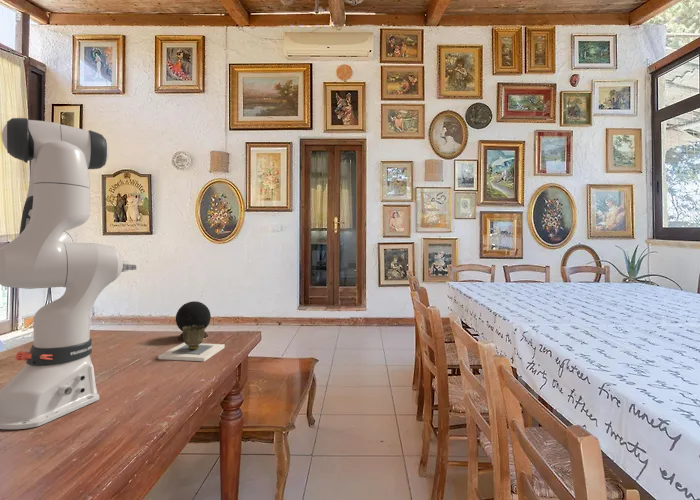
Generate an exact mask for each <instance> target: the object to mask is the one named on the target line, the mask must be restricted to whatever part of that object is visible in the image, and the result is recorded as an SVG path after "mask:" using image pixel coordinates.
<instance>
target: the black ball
mask: <svg viewBox="0 0 700 500" xmlns="http://www.w3.org/2000/svg"><path fill="white" fill-rule="evenodd" d="M211 315H212V314H211V311H210V308H209V307H208V306H207V305H206V304H205V303H203V302H201V301H197V300H196V301H189V302H188V301H187V302H186V303H184V304H182V305H181V306H180V308H179V309H178V310H177V311H176V314H175V323H176V326H177V328H178V329H179V330H180V331H181V332H182V333H180V334H179V336H178V337H177V340H178V341H179V342H182V343H185V342H184V338H183V330H182V329H183V327H185V326H187V327H188V326H189V325H190V327H192V325H194V326H195V325H197V326H199V325H200V326H202V325H204V326H205V330H206V329H207V327H209V325H210V322H211V317H212V316H211ZM206 337H208V338H209V334H208V333H207V332H206V331H205V332H204V338H206Z"/></svg>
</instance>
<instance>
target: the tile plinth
mask: <svg viewBox="0 0 700 500" xmlns="http://www.w3.org/2000/svg"><path fill="white" fill-rule="evenodd" d="M225 345H226V344H221V343H219V344H218V343H203V342H202V343H201V344H199V348H198V349H197V350H189V349H188V345H186V344H185V342H182V343H180V344H178V345H176V346H175V347H172V348H170V349H168V350H166V351H165V352H162V353H161V354H159V355H158V357H157V359H158V360H165V361H166V360H168V361H169V360H171V361H172V360H173V361H187V362H188V361H190V362H205V361H207V360H209V359H210V358H211V357H213V356H214V355H216V354H217V353H219V352H221V351H222V350H223V349H225Z"/></svg>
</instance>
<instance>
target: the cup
mask: <svg viewBox="0 0 700 500" xmlns="http://www.w3.org/2000/svg"><path fill="white" fill-rule="evenodd" d="M182 330H183V331H182V333H183V338H184V342H183V343H185V344H186V345H188V349H189V350H197V349H198V348H199V344H201V343H203V341H204V340H203V338H204V332H206V329H205V326H204V325H202V326H200V325H199V326H197V325H195V326H194V325H192V327H190V325H189V326H188V327H187V326H185V327H183V329H182Z"/></svg>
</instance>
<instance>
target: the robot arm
mask: <svg viewBox="0 0 700 500" xmlns="http://www.w3.org/2000/svg"><path fill="white" fill-rule="evenodd" d="M106 139H107V138H105V137H104V135H103V134H101V133H98V132H96V131H93V130H87V129H83V128H78V127H74V126H70V125H66V124H61V123H60V122H54V121H53V122H52V121H46V120H45V121H44V120H38V119H37V120H35V119H28V118H27V117H15V118H14V117H12V118H10V119H9V120H8V121H7V122H6V124H5V125H4V127H3V129H2V131H1V141H2V144H3V146H4V147H5V150H6V151H7V154H8V155H10V156H11V157H13V158H14V159H17V160H20V161H22V162H24V163H26V164H28V162H29V161H30V174H29V185H28V190H27V195H26V198H25V202H24V206H23V209H22V213H21V221H20V227H19V234H18V235H17V236H16V237H15V238H14V239H13V240H11V241H9V242H8V243H5V244H4V245H2V246H1V247H0V285H1V286H2V287H5V288H13V289H25V290H27V289H28V290H31V289H48V288H65V291H64V292H63V295H61V297H59V298H58V299H54V300H53V301H51V302H49V303H47V304H45V305H43V306H42V307H40V308H39V309H38V310H37V311H36V312H35V315H34V316H33V344H32V345H31V347H30V349H29V351H23V350H22V351H18V352H17V353H16V354H15V356H14V357H15V360H16V361H23V362H25V363H26V364H25V365H24V366H23V367H22V368H21V369H20V370H19V371H18V372H17V373H16V374H15V375H14V376H13V377H12V378H11V379H10V380H9V381H8V382H7V383H5V385H3V387H2V388H1V389H0V430H22V429H24V430H25V429H31V428H36V427H40V426H42V425H45V424H47V423H49V422H52V421H54V420H56V419H58V418H60V417H63V416H65V415H67V414H70V413H72V412H74V411H77V410H79V409H82V408H84V407H86V406H87V405H90V404H92V403H95V402H97V401H100V394H99V393H98V389H97V385H96V378H95V369H94V365H93V362H92V359H91V354H92V352H93V341H92V338H90V337H91V336H90V334H91V319H92V312H93V308H94V307H93V306H94V304H95V302H96V300H97V298H98V297H99V296H100V294H101V293H102V292H103V290H104V289H105V288H106V287H108V286H109V285H110V284H111V283H114V282H115V280H117V279H118V278H119V276H120V275H121V274H122V273H124V272H128V271H137V269H138V267H137V264H130V263H129V261H127V260H124V259H123V257H122V255H121V253H120V251H119V250H118V249H117V248H116V247H115V246H112V245H107V244H103V243H102V244H101V243H95V242H84V243H83V242H74V241H73V238H72V236H71V235H70V234H69V233H68V232H67V231H69V230H72V229H75V228H78V227H80V226H82V225H84V224H85V223H86V222H87V221H88V219H89V217H90V215H91V212H90V211H91V209H90V208H91V206H90V205H91V204H90V203H91V202H90V201H91V200H90V199H91V198H90V196H91V195H90V194H91V193H90V192H91V190H90V176H89V175H90V174H89V170H98V169H101V168H103V167H104V166H105V165H106V164H107V161H108V160H109V156H110V148H109V145H108V142H107V140H106Z"/></svg>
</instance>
